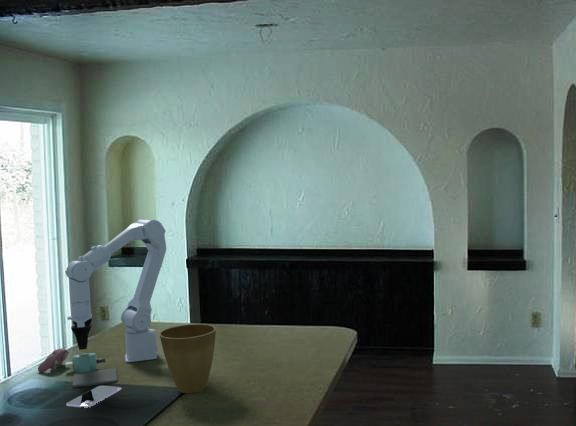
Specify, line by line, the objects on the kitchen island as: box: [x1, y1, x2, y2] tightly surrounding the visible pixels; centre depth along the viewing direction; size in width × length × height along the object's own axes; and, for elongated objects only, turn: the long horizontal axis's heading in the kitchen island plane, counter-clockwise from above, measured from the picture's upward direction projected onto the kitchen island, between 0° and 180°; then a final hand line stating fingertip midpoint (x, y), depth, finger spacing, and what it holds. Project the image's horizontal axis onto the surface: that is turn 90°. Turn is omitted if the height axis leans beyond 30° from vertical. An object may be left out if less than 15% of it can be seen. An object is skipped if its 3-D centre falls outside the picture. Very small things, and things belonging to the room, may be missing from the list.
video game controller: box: [37, 347, 70, 374], centre depth 202 cm, size 10×5×7 cm, turn 169°
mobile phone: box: [65, 384, 122, 409], centre depth 175 cm, size 8×1×15 cm
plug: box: [65, 352, 106, 374], centre depth 199 cm, size 11×4×4 cm, turn 106°
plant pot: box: [159, 323, 217, 394], centre depth 177 cm, size 15×15×16 cm
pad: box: [71, 367, 118, 389], centre depth 190 cm, size 12×12×1 cm
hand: (83, 345), depth 199 cm, fingers open, 7 cm apart
